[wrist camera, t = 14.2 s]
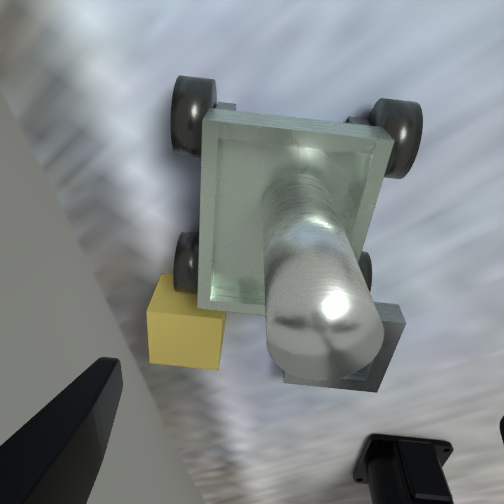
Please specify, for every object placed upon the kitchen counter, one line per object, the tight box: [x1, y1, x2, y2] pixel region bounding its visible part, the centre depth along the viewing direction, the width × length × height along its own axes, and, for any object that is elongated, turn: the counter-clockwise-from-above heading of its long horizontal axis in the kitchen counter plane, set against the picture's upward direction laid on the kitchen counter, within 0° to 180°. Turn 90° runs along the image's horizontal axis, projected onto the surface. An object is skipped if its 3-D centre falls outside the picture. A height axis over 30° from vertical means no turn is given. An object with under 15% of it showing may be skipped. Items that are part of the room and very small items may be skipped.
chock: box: [146, 273, 226, 370], centre depth 23 cm, size 4×4×4 cm
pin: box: [261, 174, 384, 380], centre depth 14 cm, size 3×3×8 cm
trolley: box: [171, 76, 423, 315], centre depth 18 cm, size 11×10×4 cm
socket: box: [283, 302, 406, 392], centre depth 25 cm, size 6×6×2 cm
